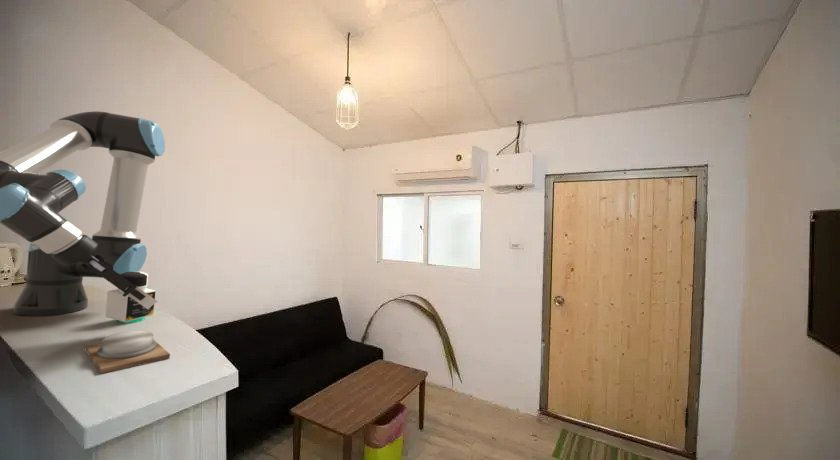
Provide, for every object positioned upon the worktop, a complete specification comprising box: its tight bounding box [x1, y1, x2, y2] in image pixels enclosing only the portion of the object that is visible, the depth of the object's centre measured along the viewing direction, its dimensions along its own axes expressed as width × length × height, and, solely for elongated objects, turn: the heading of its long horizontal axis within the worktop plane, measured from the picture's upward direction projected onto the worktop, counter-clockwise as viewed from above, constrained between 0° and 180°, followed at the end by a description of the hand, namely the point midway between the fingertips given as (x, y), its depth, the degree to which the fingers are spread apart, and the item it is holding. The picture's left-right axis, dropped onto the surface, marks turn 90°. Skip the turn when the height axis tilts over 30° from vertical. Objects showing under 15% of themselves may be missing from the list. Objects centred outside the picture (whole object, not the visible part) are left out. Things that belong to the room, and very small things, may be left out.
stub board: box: [84, 330, 171, 374], centre depth 77 cm, size 16×12×4 cm
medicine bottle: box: [104, 271, 156, 322], centre depth 86 cm, size 7×7×12 cm
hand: (146, 300), depth 89 cm, fingers closed on medicine bottle, 9 cm apart
